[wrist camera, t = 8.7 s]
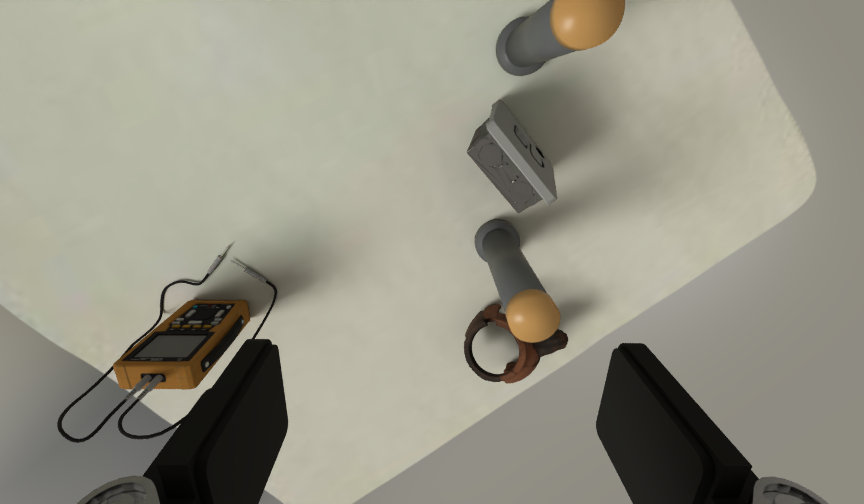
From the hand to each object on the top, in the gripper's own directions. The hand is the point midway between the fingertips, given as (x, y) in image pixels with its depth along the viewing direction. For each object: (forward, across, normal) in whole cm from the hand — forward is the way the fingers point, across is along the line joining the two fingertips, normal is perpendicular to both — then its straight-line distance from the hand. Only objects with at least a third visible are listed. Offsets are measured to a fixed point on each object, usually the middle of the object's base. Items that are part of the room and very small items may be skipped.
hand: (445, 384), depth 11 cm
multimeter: (+35, +25, +14) cm, 45 cm away
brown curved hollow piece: (+35, -11, +20) cm, 42 cm away
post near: (+35, -9, -12) cm, 38 cm away
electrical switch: (+35, -8, -2) cm, 36 cm away
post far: (+34, -8, +8) cm, 36 cm away
